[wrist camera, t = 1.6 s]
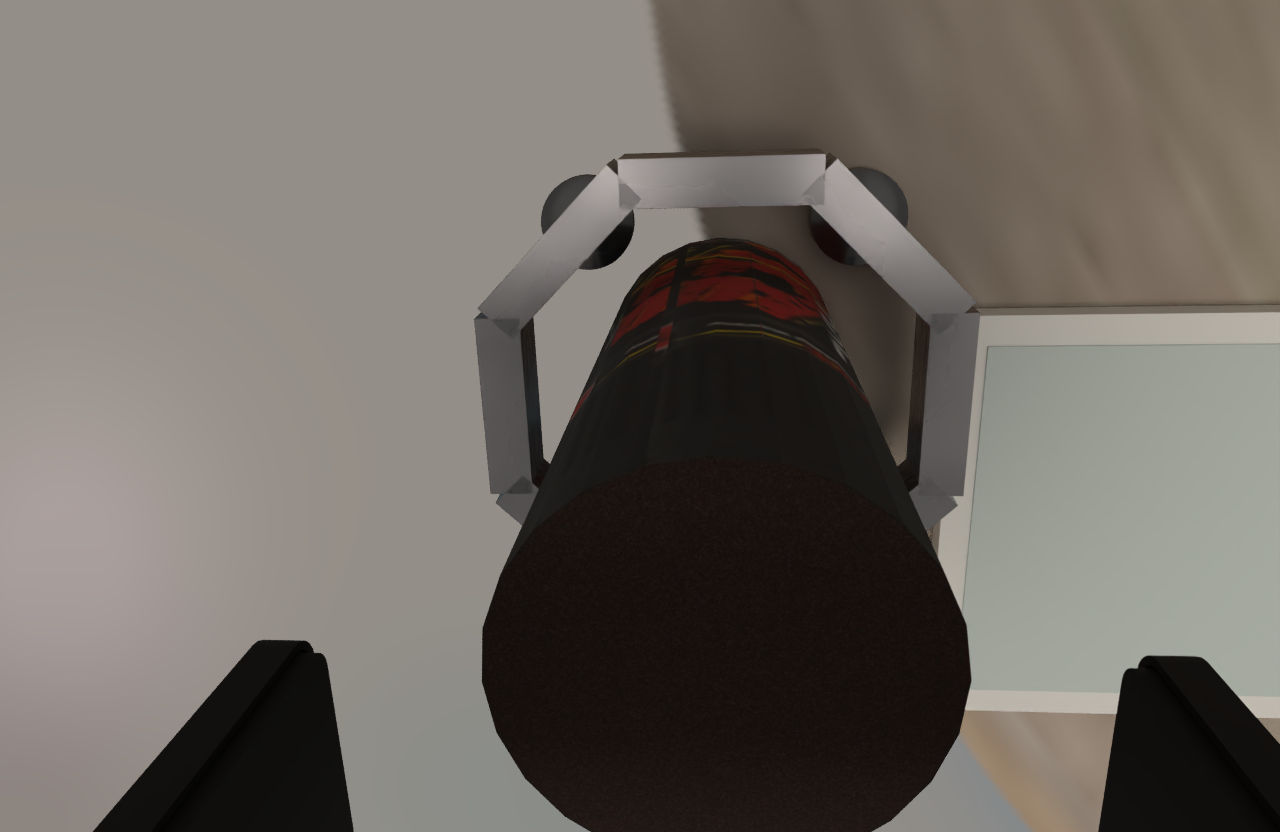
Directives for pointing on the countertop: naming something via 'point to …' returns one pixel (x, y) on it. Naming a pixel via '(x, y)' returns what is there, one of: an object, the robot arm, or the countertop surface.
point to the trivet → (1119, 503)
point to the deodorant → (725, 577)
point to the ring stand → (839, 197)
